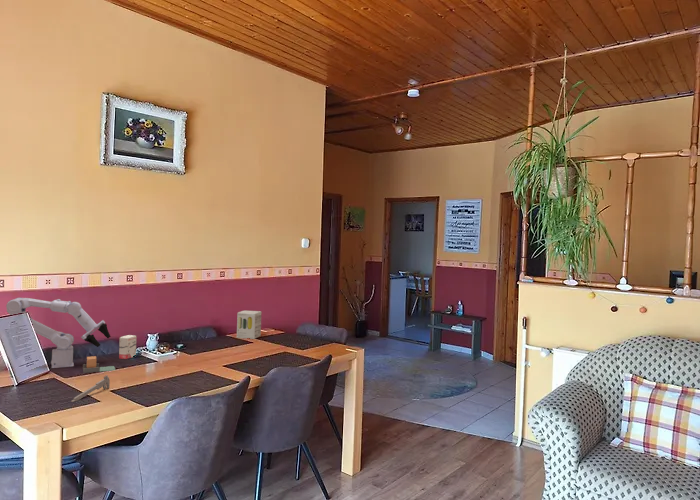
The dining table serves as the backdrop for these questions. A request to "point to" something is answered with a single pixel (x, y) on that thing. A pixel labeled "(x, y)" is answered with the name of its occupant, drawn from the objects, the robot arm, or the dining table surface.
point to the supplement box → (249, 324)
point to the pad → (107, 368)
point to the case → (87, 370)
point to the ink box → (127, 346)
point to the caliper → (94, 388)
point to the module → (91, 362)
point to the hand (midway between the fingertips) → (104, 341)
